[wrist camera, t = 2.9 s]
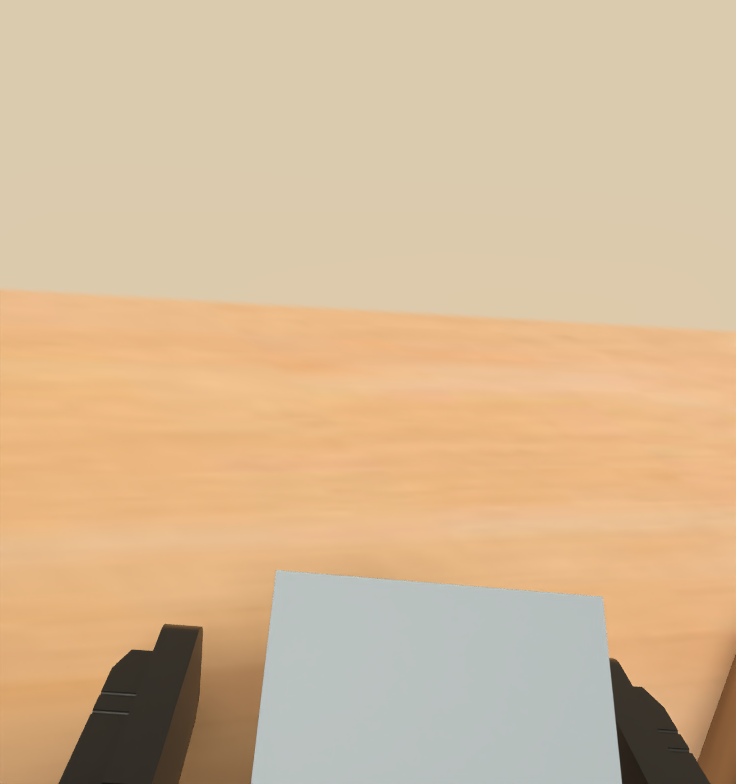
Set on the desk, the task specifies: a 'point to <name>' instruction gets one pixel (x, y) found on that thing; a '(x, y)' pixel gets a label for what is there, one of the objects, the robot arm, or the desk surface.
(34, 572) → the desk surface
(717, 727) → the plinth
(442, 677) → the pillar
